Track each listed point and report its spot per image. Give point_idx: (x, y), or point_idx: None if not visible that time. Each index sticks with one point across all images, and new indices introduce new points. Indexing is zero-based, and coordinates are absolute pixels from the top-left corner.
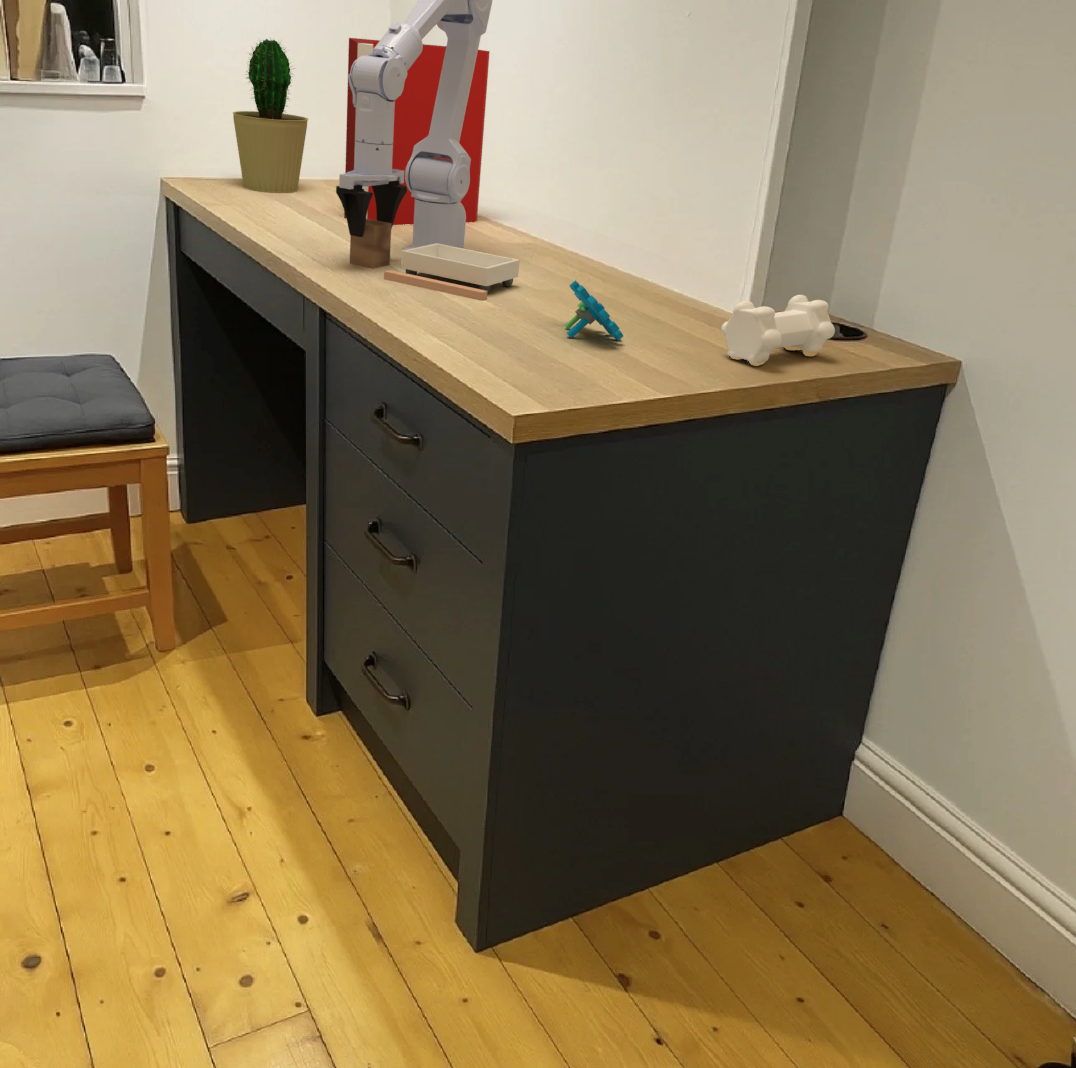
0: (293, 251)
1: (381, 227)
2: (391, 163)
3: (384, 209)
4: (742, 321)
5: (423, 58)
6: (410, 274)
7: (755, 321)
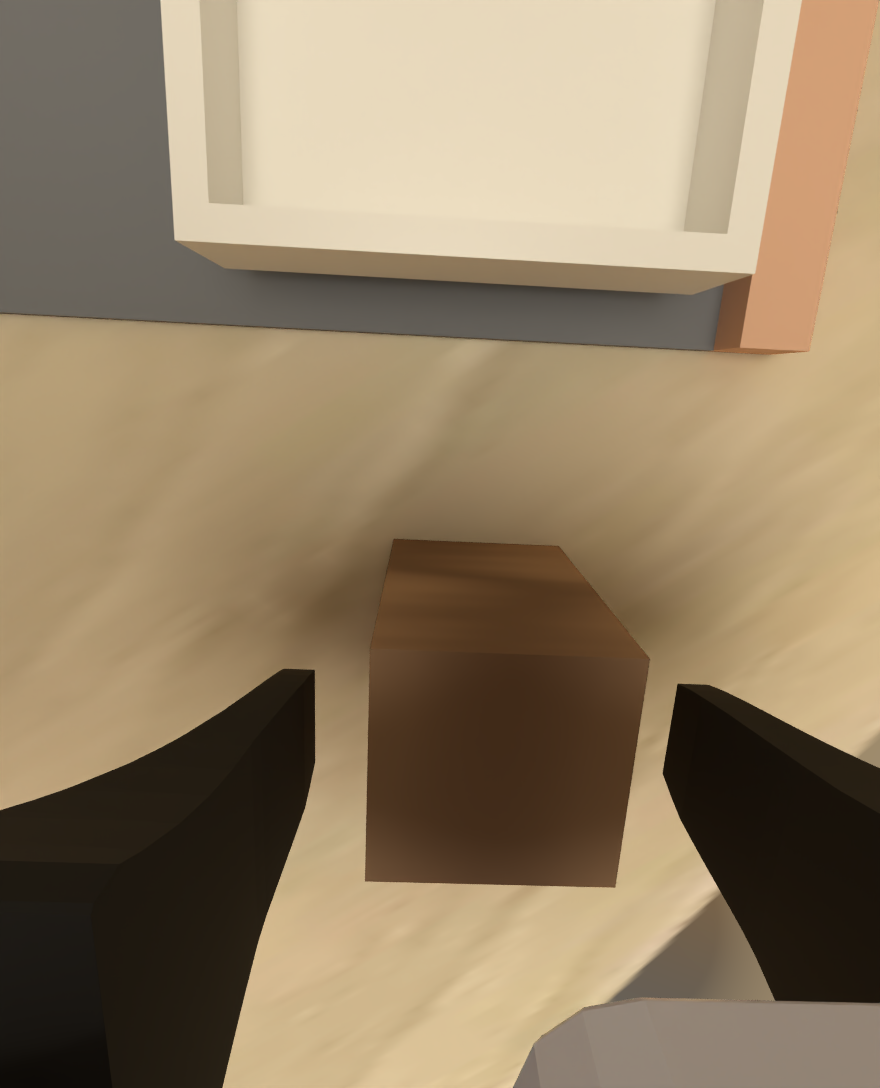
0: (459, 1015)
1: (538, 644)
2: None
3: (257, 846)
4: None
5: None
6: (775, 162)
7: None
